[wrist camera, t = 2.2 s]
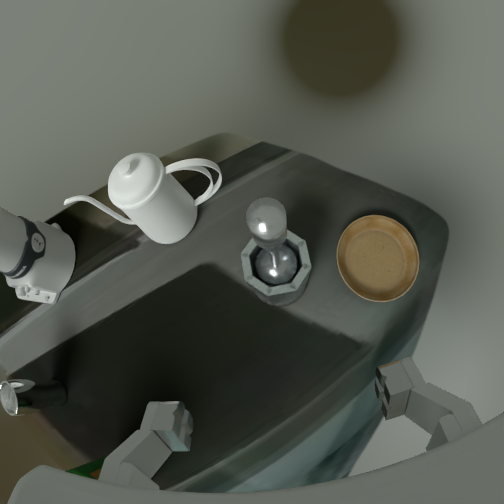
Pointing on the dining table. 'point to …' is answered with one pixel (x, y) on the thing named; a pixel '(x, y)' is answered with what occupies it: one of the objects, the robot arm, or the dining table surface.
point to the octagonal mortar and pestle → (283, 292)
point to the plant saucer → (377, 258)
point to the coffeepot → (154, 195)
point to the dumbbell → (271, 241)
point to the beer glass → (31, 395)
